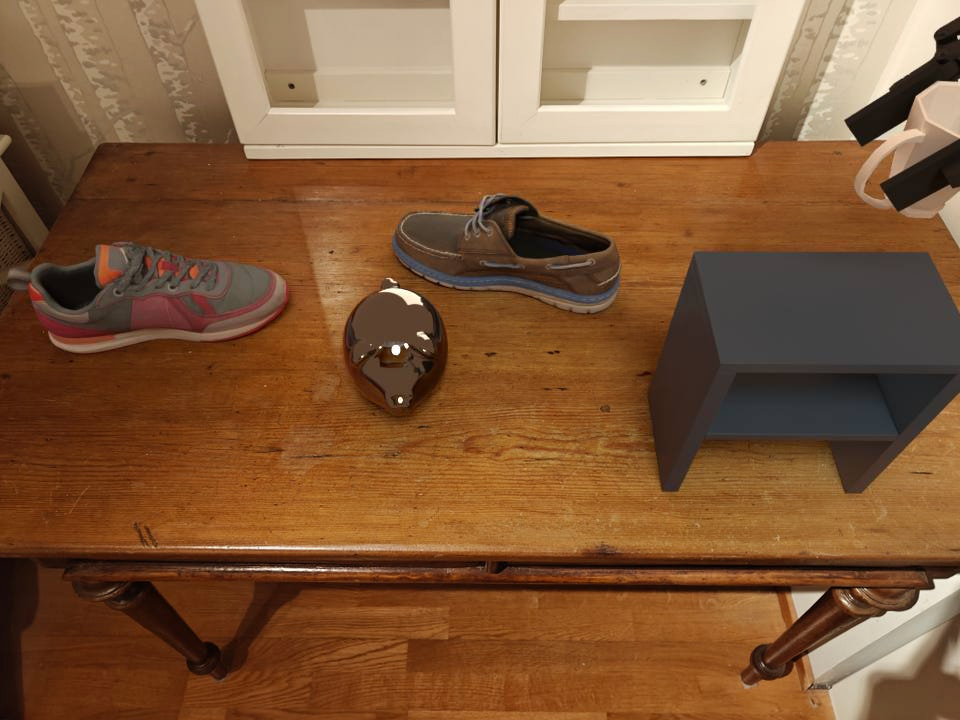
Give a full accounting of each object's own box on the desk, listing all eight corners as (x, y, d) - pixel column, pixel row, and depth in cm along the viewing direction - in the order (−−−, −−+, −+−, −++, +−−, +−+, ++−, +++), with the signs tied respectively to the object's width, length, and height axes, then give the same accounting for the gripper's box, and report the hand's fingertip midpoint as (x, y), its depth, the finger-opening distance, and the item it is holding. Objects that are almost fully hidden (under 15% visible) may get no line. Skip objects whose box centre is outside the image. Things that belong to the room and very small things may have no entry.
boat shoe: (409, 221, 95) (401, 157, 86) (624, 261, 90) (638, 197, 81) (382, 276, 89) (371, 213, 80) (610, 322, 84) (624, 260, 75)
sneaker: (296, 331, 83) (271, 260, 74) (48, 372, 80) (-12, 303, 71) (292, 271, 89) (268, 197, 80) (61, 306, 86) (7, 235, 76)
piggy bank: (353, 444, 74) (333, 382, 65) (350, 334, 83) (333, 267, 74) (457, 432, 75) (453, 370, 66) (444, 325, 84) (438, 257, 75)
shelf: (827, 394, 77) (928, 251, 60) (861, 493, 70) (986, 365, 53) (646, 393, 78) (693, 251, 60) (662, 491, 71) (720, 363, 53)
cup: (981, 220, 53) (1052, 130, 46) (865, 249, 51) (920, 161, 45) (923, 161, 57) (980, 70, 50) (813, 186, 55) (857, 97, 48)
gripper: (1447, 56, 34) (943, 288, 47) (1194, -105, 46) (846, 116, 59) (1459, -60, 30) (901, 231, 43) (1177, -204, 42) (806, 58, 55)
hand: (870, 164), depth 51 cm, fingers closed on cup, 7 cm apart
